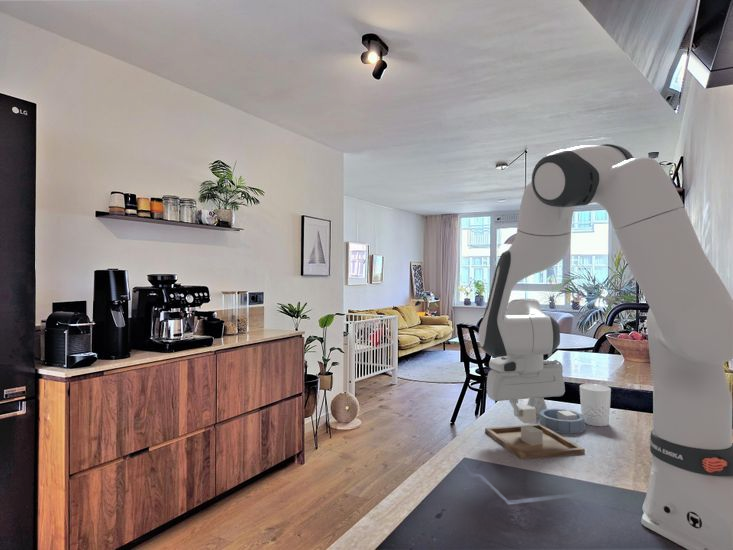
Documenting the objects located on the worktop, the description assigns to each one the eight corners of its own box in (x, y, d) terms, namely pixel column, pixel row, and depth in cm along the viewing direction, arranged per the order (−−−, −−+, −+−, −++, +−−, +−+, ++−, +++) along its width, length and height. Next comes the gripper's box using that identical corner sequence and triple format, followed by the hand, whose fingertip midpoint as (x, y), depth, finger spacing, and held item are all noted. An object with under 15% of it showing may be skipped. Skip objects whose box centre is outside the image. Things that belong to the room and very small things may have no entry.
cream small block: (536, 422, 117) (535, 409, 117) (524, 423, 116) (523, 410, 116) (529, 417, 121) (529, 405, 121) (517, 418, 120) (517, 406, 120)
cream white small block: (542, 444, 112) (542, 430, 112) (531, 445, 111) (531, 432, 111) (531, 438, 116) (531, 425, 116) (521, 440, 115) (521, 427, 115)
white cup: (576, 417, 134) (576, 383, 134) (606, 419, 133) (605, 384, 133) (583, 426, 127) (583, 390, 127) (614, 428, 125) (614, 391, 125)
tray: (584, 455, 106) (584, 449, 106) (521, 462, 103) (521, 454, 103) (540, 429, 124) (540, 423, 124) (485, 434, 121) (485, 428, 121)
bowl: (593, 433, 121) (593, 419, 121) (555, 436, 119) (555, 422, 119) (566, 420, 132) (566, 407, 132) (532, 422, 130) (532, 410, 130)
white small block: (576, 426, 124) (576, 414, 124) (566, 427, 123) (566, 415, 123) (567, 421, 128) (567, 410, 128) (557, 422, 127) (557, 411, 127)
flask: (552, 419, 133) (552, 384, 133) (525, 417, 134) (525, 383, 134) (547, 411, 140) (547, 379, 140) (522, 410, 141) (522, 378, 141)
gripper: (555, 357, 123) (556, 408, 123) (483, 361, 120) (484, 414, 120) (569, 361, 117) (570, 415, 117) (493, 366, 114) (495, 422, 114)
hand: (526, 415), depth 118 cm, fingers closed on cream small block, 3 cm apart
